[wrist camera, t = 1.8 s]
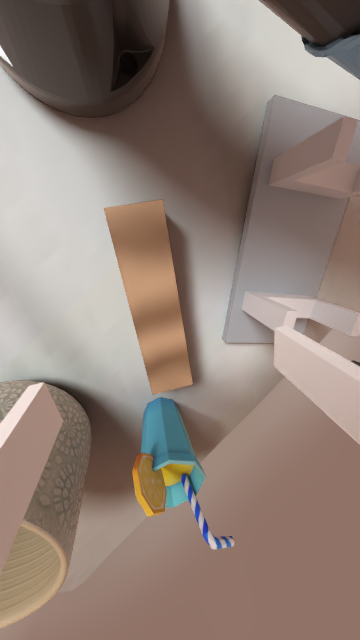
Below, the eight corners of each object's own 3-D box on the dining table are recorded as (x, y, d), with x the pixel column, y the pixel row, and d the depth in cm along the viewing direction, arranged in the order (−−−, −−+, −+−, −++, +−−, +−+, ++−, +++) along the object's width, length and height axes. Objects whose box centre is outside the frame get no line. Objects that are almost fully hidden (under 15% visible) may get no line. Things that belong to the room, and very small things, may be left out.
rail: (110, 215, 22) (103, 208, 17) (157, 207, 23) (162, 199, 18) (150, 370, 30) (152, 394, 25) (184, 362, 30) (192, 384, 26)
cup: (212, 415, 34) (262, 532, 21) (181, 445, 36) (209, 575, 22) (146, 374, 29) (153, 494, 15) (112, 411, 30) (91, 554, 17)
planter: (54, 474, 33) (-9, 653, 18) (-71, 431, 26) (-311, 651, 12) (125, 402, 30) (114, 543, 16) (6, 336, 24) (-180, 471, 10)
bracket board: (267, 102, 21) (356, 8, 12) (362, 130, 23) (490, 67, 15) (222, 338, 30) (256, 378, 21) (295, 340, 32) (351, 375, 24)
